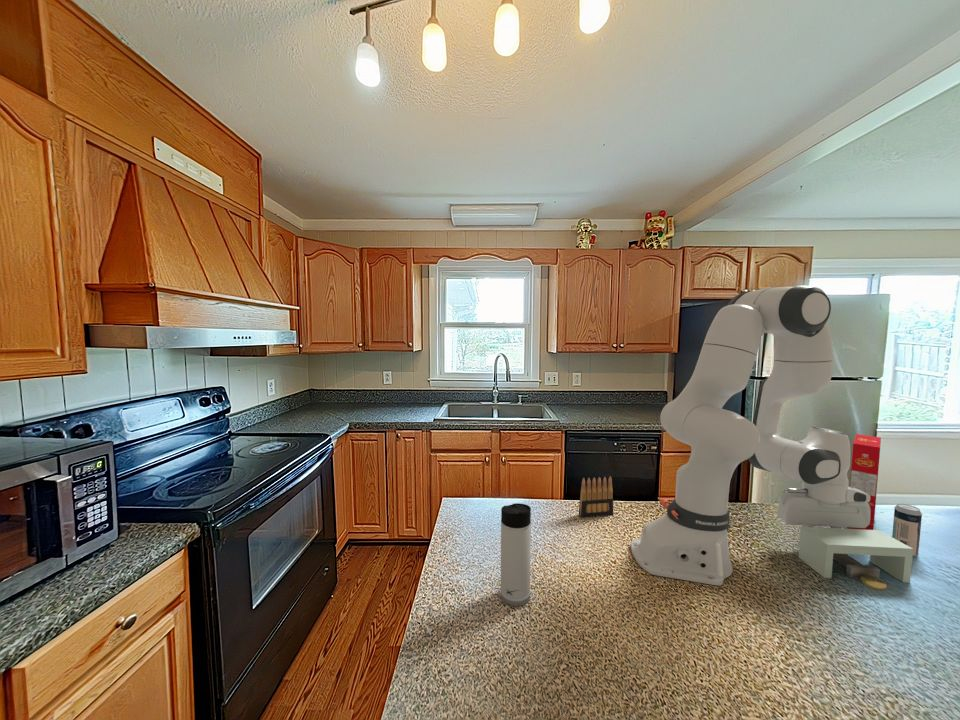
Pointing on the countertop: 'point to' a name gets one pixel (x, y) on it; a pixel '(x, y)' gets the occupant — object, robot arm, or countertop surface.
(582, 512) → the ammunition clip
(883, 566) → the pale green bridge
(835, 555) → the scraper
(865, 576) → the brass disc
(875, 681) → the countertop surface
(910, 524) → the beer can
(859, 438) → the food packaging
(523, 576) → the travel mug
